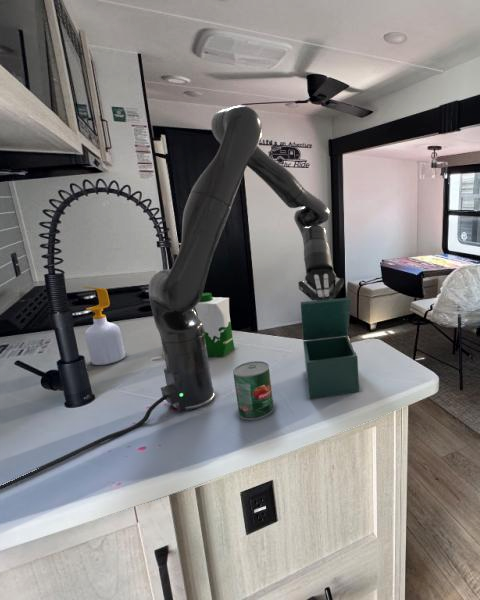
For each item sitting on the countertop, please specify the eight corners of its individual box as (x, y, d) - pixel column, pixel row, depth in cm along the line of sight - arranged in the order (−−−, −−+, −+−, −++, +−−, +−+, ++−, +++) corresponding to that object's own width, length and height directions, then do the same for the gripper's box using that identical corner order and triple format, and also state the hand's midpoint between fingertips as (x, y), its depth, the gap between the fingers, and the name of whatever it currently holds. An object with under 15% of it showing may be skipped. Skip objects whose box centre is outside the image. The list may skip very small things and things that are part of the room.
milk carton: (214, 347, 132) (206, 290, 127) (239, 347, 131) (231, 291, 126) (199, 357, 124) (189, 297, 119) (224, 358, 122) (215, 297, 117)
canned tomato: (272, 417, 88) (267, 373, 85) (236, 422, 86) (229, 377, 83) (274, 400, 95) (270, 359, 92) (241, 404, 94) (235, 363, 91)
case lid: (351, 299, 98) (350, 297, 98) (300, 304, 95) (300, 301, 95) (347, 335, 110) (347, 333, 111) (303, 340, 107) (302, 338, 108)
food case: (359, 391, 98) (357, 356, 96) (309, 398, 95) (306, 362, 93) (349, 367, 113) (347, 335, 110) (306, 372, 110) (303, 340, 108)
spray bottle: (84, 364, 121) (65, 288, 115) (112, 353, 129) (95, 282, 123) (105, 367, 118) (87, 289, 112) (132, 355, 127) (116, 283, 121)
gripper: (293, 252, 104) (299, 306, 96) (341, 249, 107) (351, 302, 99) (294, 268, 110) (300, 320, 102) (340, 265, 114) (349, 315, 105)
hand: (325, 311), depth 101 cm, fingers closed
